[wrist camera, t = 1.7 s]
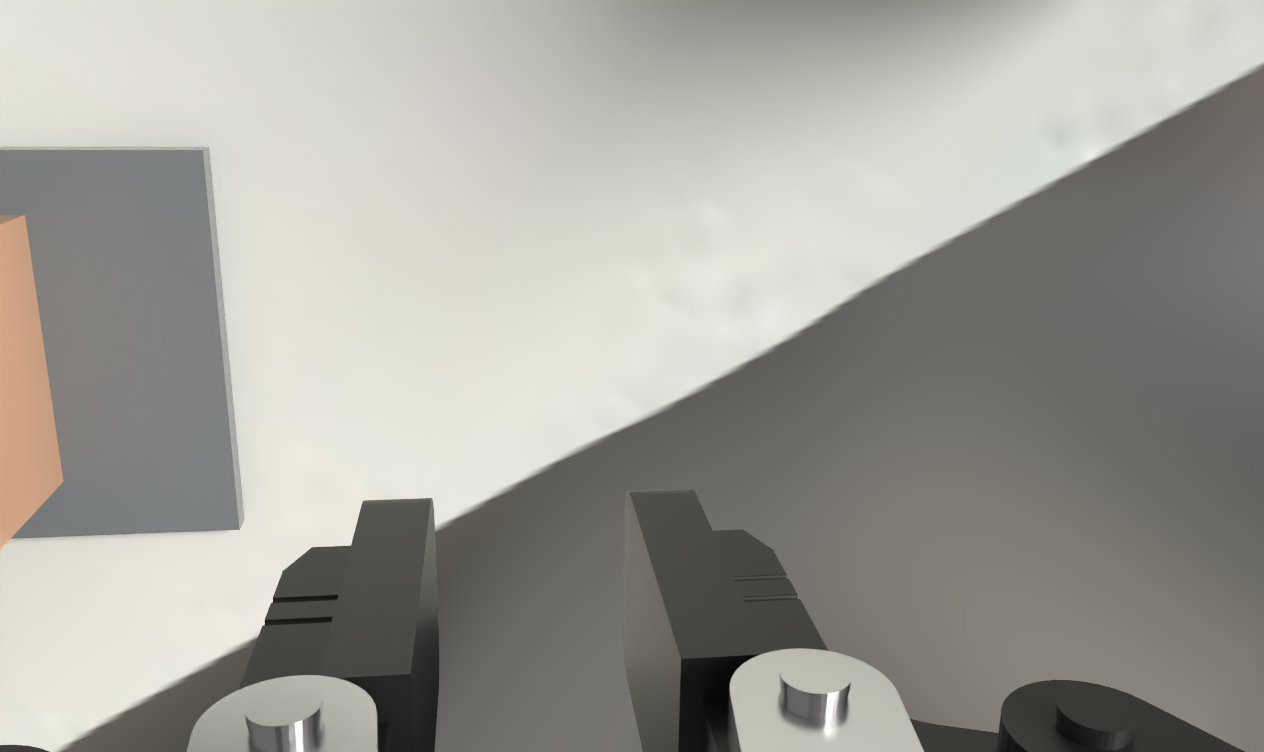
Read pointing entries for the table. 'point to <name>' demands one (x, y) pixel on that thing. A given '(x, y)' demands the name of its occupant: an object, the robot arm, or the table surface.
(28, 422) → the terracotta brick
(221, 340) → the slate board
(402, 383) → the table surface
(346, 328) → the table surface
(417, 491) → the table surface
